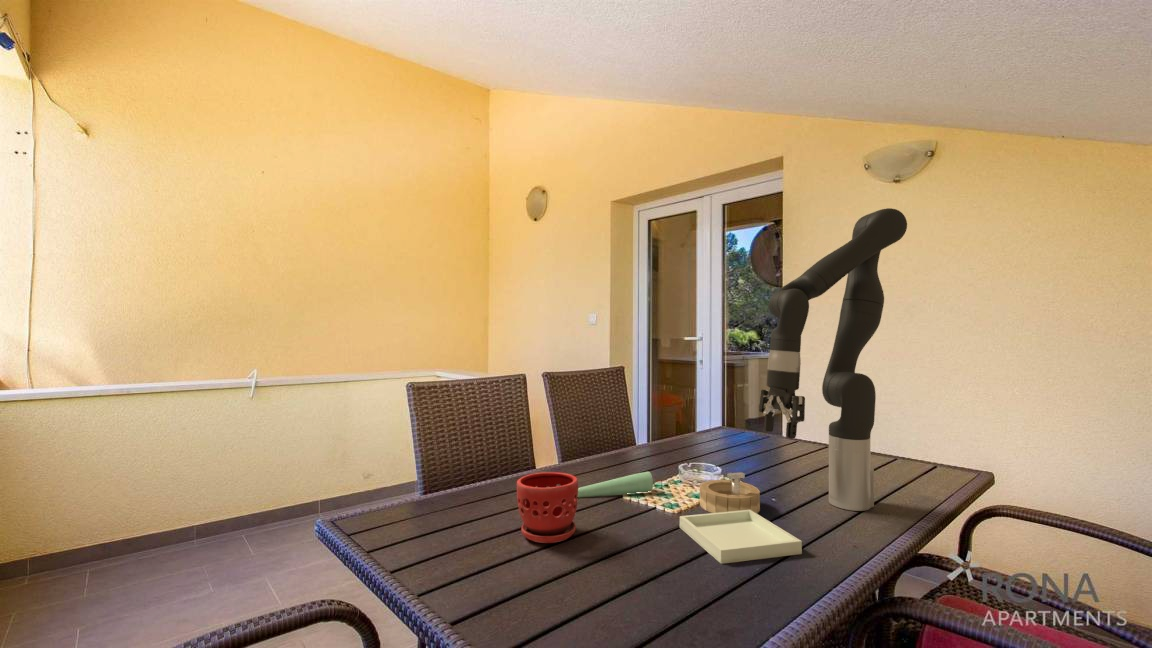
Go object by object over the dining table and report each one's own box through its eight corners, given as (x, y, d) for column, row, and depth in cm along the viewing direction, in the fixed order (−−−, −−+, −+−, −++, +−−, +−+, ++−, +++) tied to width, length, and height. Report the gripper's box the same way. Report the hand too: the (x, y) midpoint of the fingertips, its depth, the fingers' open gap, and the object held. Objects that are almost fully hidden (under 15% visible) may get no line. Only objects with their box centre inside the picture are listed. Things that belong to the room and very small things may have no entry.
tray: (749, 520, 116) (749, 509, 116) (801, 553, 99) (801, 541, 99) (679, 527, 112) (679, 516, 112) (721, 563, 95) (721, 550, 95)
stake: (740, 508, 123) (740, 471, 123) (745, 511, 121) (745, 474, 122) (726, 510, 122) (726, 473, 122) (730, 513, 120) (730, 475, 121)
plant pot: (585, 527, 112) (586, 473, 112) (565, 552, 99) (565, 491, 99) (531, 519, 116) (532, 467, 116) (505, 542, 104) (506, 484, 104)
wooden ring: (738, 495, 133) (738, 478, 133) (771, 514, 120) (771, 495, 120) (690, 499, 130) (690, 481, 130) (718, 519, 116) (718, 500, 116)
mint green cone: (550, 475, 133) (645, 469, 139) (550, 496, 133) (645, 488, 139) (554, 481, 128) (653, 474, 134) (554, 503, 128) (653, 495, 134)
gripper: (816, 372, 119) (812, 441, 119) (778, 368, 133) (774, 429, 133) (789, 370, 117) (784, 440, 117) (753, 366, 131) (749, 428, 131)
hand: (779, 434), depth 125 cm, fingers open, 8 cm apart
